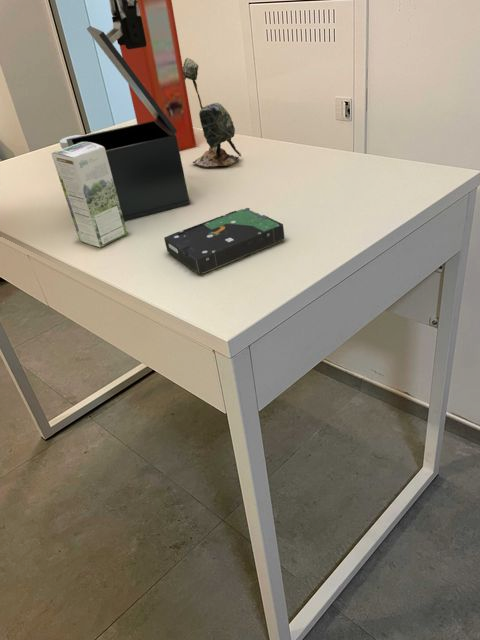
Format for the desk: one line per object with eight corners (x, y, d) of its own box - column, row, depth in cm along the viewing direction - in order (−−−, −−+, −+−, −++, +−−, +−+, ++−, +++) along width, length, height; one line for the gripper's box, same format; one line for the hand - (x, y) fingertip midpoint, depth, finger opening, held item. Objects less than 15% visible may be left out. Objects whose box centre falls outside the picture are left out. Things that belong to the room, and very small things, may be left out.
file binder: (171, 132, 138) (140, -20, 119) (197, 146, 126) (167, -21, 107) (140, 139, 136) (104, -15, 117) (164, 154, 123) (128, -15, 104)
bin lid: (98, 35, 79) (125, 11, 78) (86, 28, 89) (109, 8, 89) (174, 134, 90) (197, 114, 90) (155, 118, 100) (175, 100, 100)
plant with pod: (221, 174, 108) (203, 62, 96) (188, 164, 115) (168, 59, 103) (252, 162, 112) (238, 52, 100) (218, 153, 119) (202, 50, 107)
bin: (97, 228, 93) (75, 158, 86) (86, 203, 103) (66, 139, 96) (190, 204, 97) (176, 135, 90) (170, 182, 107) (157, 119, 100)
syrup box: (107, 228, 92) (80, 140, 84) (129, 234, 89) (104, 143, 81) (79, 241, 89) (48, 151, 81) (101, 249, 86) (71, 155, 77)
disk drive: (200, 278, 75) (286, 240, 81) (196, 259, 73) (284, 222, 79) (166, 254, 82) (247, 221, 88) (162, 237, 80) (245, 204, 86)
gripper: (67, -91, 82) (100, 45, 93) (81, -105, 69) (118, 55, 79) (116, -96, 84) (143, 37, 94) (139, -111, 71) (168, 47, 81)
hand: (132, 44), depth 87 cm, fingers closed on bin lid, 6 cm apart
